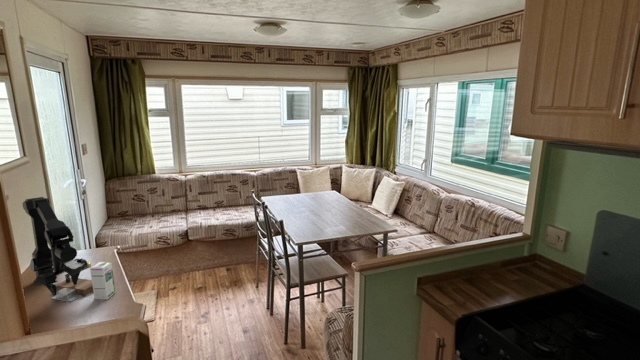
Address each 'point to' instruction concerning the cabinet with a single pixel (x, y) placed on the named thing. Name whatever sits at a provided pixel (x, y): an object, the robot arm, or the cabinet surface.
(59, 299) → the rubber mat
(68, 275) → the lever
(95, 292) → the syrup box
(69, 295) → the grey block
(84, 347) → the cabinet surface
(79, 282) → the body
